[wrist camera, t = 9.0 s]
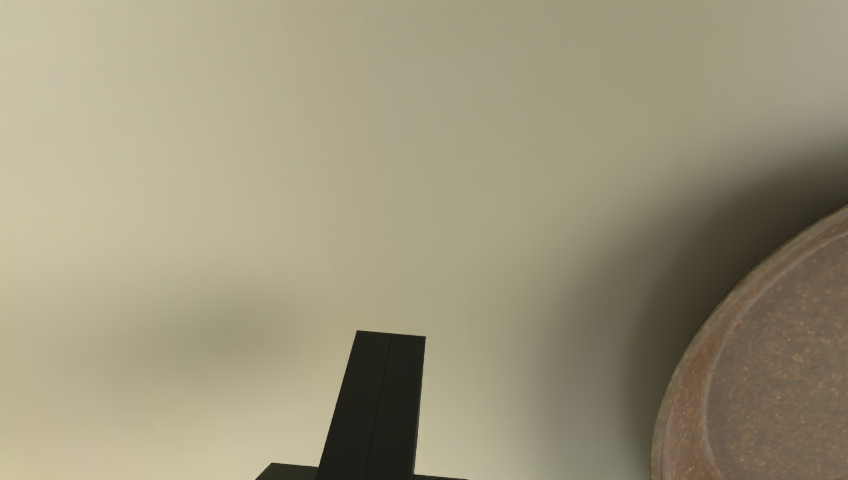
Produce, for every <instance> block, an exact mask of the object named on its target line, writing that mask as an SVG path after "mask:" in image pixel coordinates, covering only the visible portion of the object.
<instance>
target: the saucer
mask: <svg viewBox="0 0 848 480" xmlns="http://www.w3.org/2000/svg"><path fill="white" fill-rule="evenodd" d="M650 480H848V204H846V205H845V206H843V207H841V208H839V209H837V210H835V211H833V212H831V213H830V214H828V215H826V216H824V217H823V218H821V219H819V220H818V221H816V222H814V223H813V224H811V225H809V226H808V227H806V228H805V229H803V230H802V231H800V232H799V233H797V234H796V235H794V236H793V237H791V238H790V239H788V240H787V241H785V242H784V243H782V244H781V245H780V246H779V247H778V248H777V249H775V250H774V251H772V252H771V253H769V254H768V255H767V256H766V257H765V258H764V259H762V260H761V261H760V262H758V263H757V264H756V265H755V266H754V267H753V268H752V269H751V270H750V271H749V272H748V273H747V274H746V275H744V276H743V277H742V278H741V279H740V280H739V281H738V282H737V283H736V285H735V286H734V287H733V288H732V289H731V290H730V291H729V292H728V293H727V294H726V295H725V297H724V298H723V299H722V300H721V301H720V302H719V304H718V305H717V306H716V307H715V308H714V309H713V310H712V312H711V313H710V314H709V316H708V317H707V319H706V320H705V321H704V323H703V324H702V325H701V327H700V328H699V329H698V331H697V333H696V334H695V336H694V337H693V339H692V340H691V342H690V343H689V345H688V347H687V348H686V350H685V352H684V353H683V355H682V357H681V358H680V360H679V362H678V363H677V366H676V368H675V370H674V372H673V374H672V376H671V378H670V380H669V383H668V385H667V388H666V390H665V393H664V395H663V398H662V400H661V403H660V406H659V410H658V413H657V417H656V421H655V425H654V429H653V436H652V443H651V451H650Z"/></svg>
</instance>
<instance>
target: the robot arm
mask: <svg viewBox="0 0 848 480" xmlns="http://www.w3.org/2000/svg"><path fill="white" fill-rule="evenodd" d="M425 339H426V336H414V335H403V334H392V333H381V332H370V331H358V330H357V332H356V335H355V339H354V343H353V346H352V350H351V353H350V357H349V360H348V364H347V368H346V371H345V375H344V378H343V382H342V385H341V389H340V393H339V396H338V400H337V403H336V407H335V410H334V414H333V418H332V421H331V425H330V428H329V432H328V435H327V439H326V443H325V446H324V450H323V453H322V457H321V460H320V464H319V467H312V466H301V465H291V464H280V463H271V464H270V465H269V466H268V467H267V468H266V469H265V470H264V471H263V472H262V473H261V474H260V475H259V476H258V477H257V478H256V479H255V480H468V479H458V478H447V477H437V476H426V475H415V474H414V468H415V458H416V447H417V437H418V425H419V413H420V400H421V388H422V376H423V364H424V351H425Z"/></svg>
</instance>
